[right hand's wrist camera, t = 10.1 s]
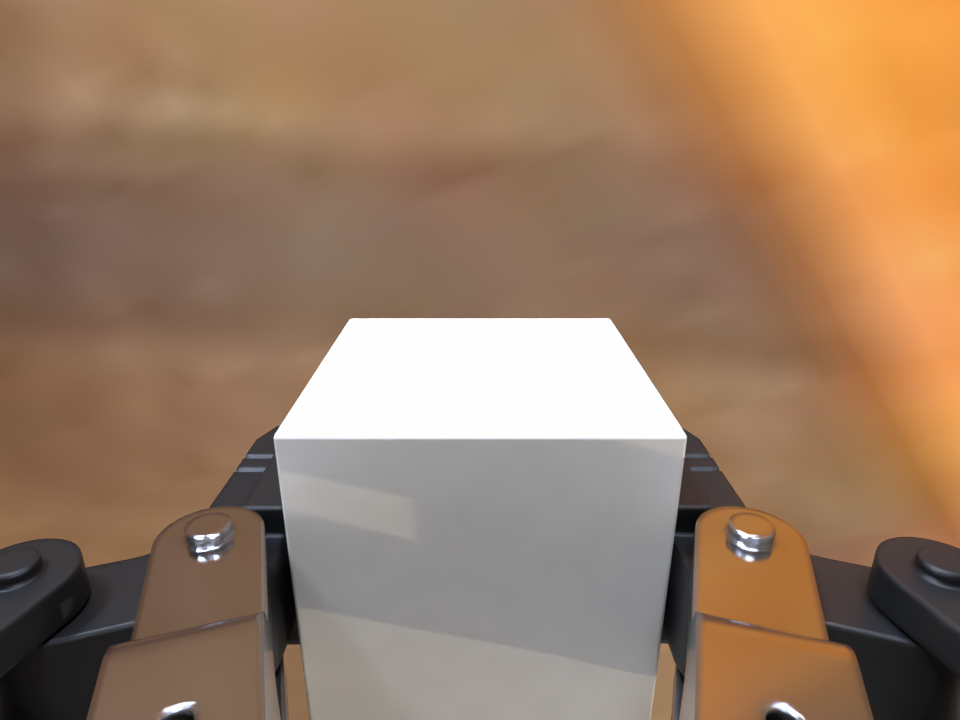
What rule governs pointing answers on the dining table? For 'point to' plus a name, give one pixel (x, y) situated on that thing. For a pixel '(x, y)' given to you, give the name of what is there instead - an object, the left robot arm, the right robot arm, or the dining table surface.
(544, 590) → the block
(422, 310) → the dining table surface
